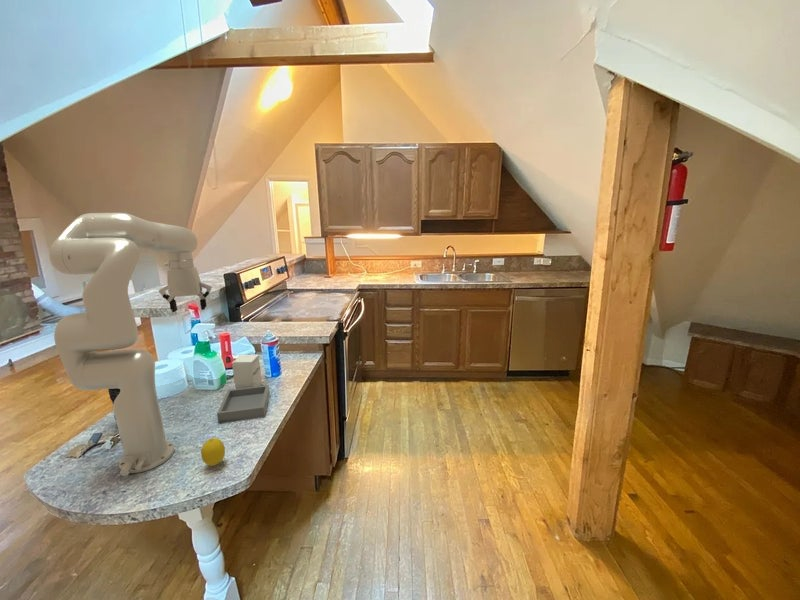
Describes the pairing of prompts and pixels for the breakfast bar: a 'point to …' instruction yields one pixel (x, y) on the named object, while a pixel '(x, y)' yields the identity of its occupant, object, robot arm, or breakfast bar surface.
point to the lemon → (213, 451)
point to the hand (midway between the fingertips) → (189, 310)
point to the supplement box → (247, 371)
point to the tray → (244, 404)
